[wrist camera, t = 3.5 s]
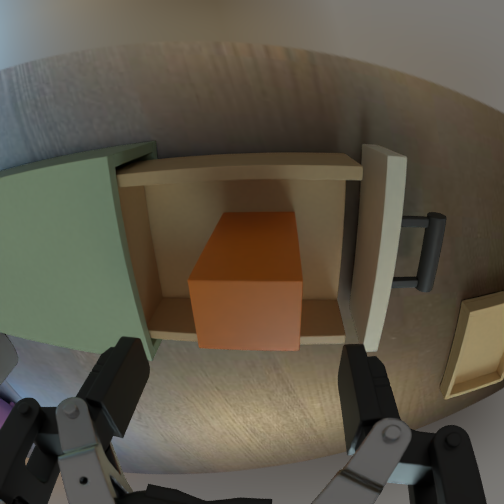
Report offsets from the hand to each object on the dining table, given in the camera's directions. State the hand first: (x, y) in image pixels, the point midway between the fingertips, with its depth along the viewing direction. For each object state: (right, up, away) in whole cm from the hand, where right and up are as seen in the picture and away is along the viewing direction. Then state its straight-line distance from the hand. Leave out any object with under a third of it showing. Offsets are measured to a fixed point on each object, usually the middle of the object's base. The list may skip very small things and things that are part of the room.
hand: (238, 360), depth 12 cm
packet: (+1, +5, +11) cm, 12 cm away
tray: (+27, -6, +16) cm, 32 cm away
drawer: (+3, +6, +12) cm, 14 cm away
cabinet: (-16, +6, +14) cm, 22 cm away
